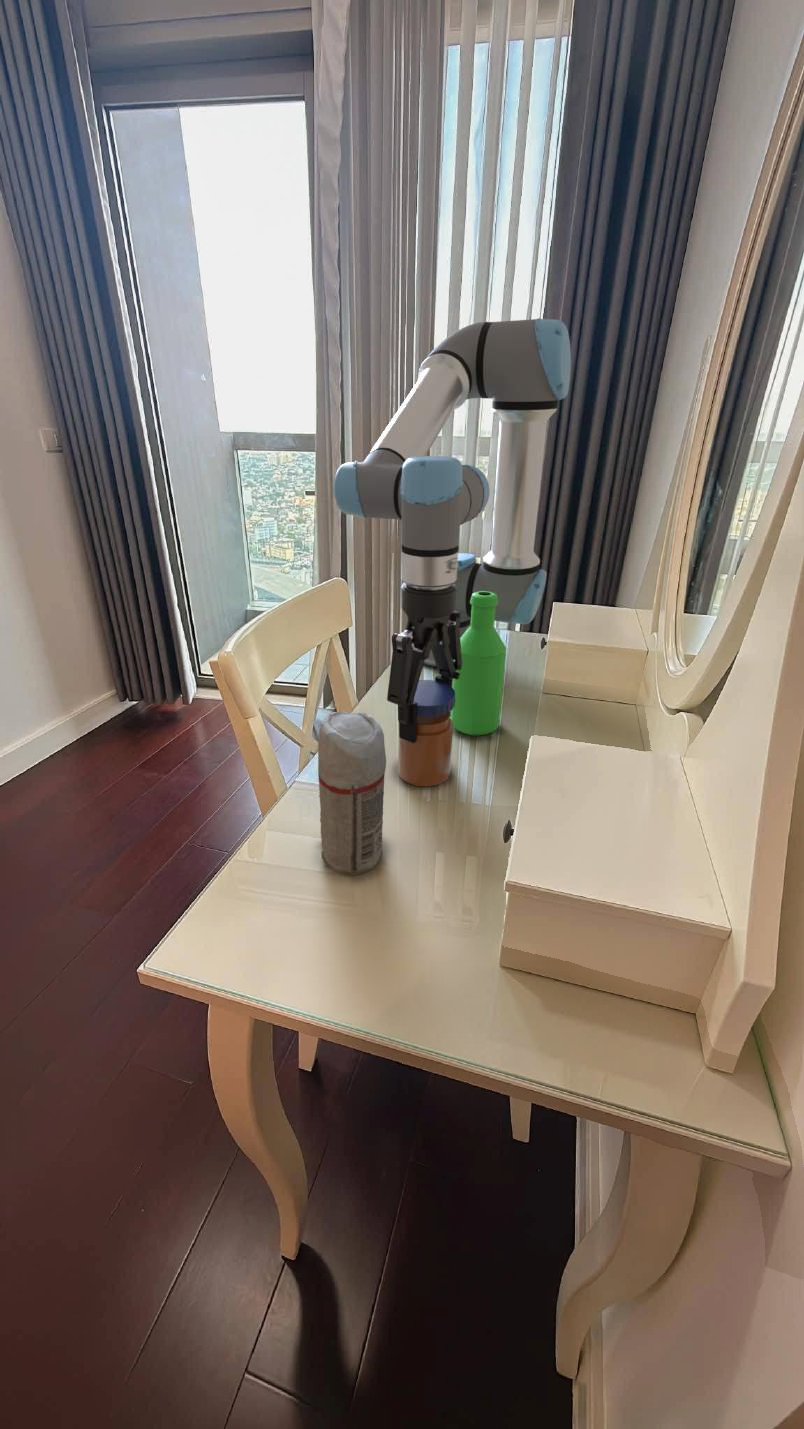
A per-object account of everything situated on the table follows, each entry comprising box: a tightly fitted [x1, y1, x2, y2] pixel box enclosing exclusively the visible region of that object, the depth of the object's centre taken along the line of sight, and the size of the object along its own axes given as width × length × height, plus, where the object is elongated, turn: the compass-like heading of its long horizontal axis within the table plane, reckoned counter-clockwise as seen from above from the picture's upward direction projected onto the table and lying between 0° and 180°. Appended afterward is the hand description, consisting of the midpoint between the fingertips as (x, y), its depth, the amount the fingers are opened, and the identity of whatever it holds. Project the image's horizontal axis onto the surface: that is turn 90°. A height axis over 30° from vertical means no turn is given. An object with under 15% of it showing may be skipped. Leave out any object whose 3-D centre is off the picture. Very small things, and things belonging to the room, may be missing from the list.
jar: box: [397, 713, 454, 787], centre depth 88 cm, size 8×8×11 cm
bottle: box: [450, 591, 507, 737], centre depth 98 cm, size 9×9×25 cm
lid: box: [414, 679, 455, 717], centre depth 85 cm, size 9×9×2 cm
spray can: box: [317, 710, 387, 876], centre depth 70 cm, size 8×8×20 cm
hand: (425, 726), depth 87 cm, fingers closed on lid, 8 cm apart
